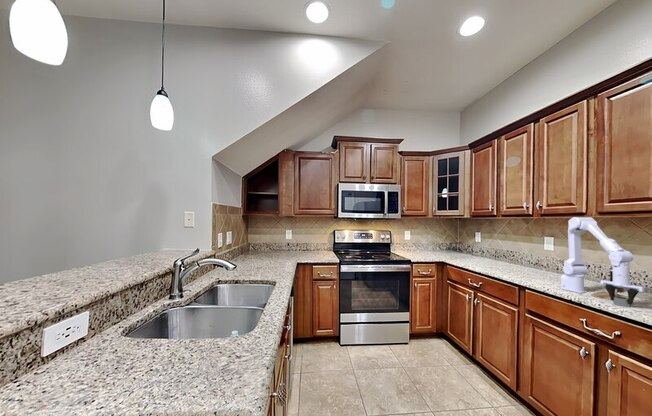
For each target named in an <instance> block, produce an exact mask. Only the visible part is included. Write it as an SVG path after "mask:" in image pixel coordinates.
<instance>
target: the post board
mask: <svg viewBox="0 0 652 416" xmlns="http://www.w3.org/2000/svg"><path fill="white" fill-rule="evenodd" d="M590 296H591V297H596V298H598V297H599V298H598V299H604V300H608V301H612V300H611V298H610V295H609V293H608V291H606V290H605V291H604V290H603V291H599V292H594V293H591V294H590ZM615 296H620V297H626V298H628V295H624V294H619V293H618V292H617V289H615Z"/></svg>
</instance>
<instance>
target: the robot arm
mask: <svg viewBox="0 0 652 416" xmlns="http://www.w3.org/2000/svg"><path fill="white" fill-rule="evenodd" d="M567 222H568V223H567V224H568V228H567V241H568V242H567V243H568V244H567V245H568V258H567V259H566V260H565V261H564V262H563V267H562V270H563V271H562V272H564V274H562V275H561V277H560V283H561V284H560V286H561V287H560V289H561V290H565V291H569V292H573V293H579V294H583V293H588V290H585V277H586V275H588V272H589V271H588V268H587V263H586V262H585V261H584V260H583V259H582V257H583V256H582V237H581V235H582V233H583V232H584V231H588V232H589V233H590V234H592V235H593V236H594V237H595V238H596V240H598V241H599V245H600V247H601V248H602V249H603V250H604V251H605V252H606V253H607V255H608V256H607V257H608V259H609V261H610V264H611V265H612V267H611V270H612V272H613V282H612V281H610V280H604V279H603V280H600V285H605V286H604V288H605V291H606V292H608V293H609V295H610V298H611V300H610V301H612V302H613V296H615V288H616V287H620V288H624V289H627V290H626V292H627V296H628V304H630V306H631V305H633V303H634V301H635V298H636V296H637V295H638V294H639V292H640V293H642V292H643V293H644V292H645V287H644V286H638V285H634V284H631V275H630V274H631V273H630V272H631V271H630V269H631V268H630V267H631V265H630V264H631V263H632V262H633V260H634V256H633V254H632V252H630V251H628V250H625V249H624V248H623V247H621V246H620V245H619V244H618V243H617V241H616V240H615V239H613V238H609V237H608V236H607V235H606V234H605V233H604V231H602V229H601V228H600V227H599V226H598V222H597V221H596V220H595V219H594V217H589V216H588V217H577V216H574V217H571V218H570V219H569V220H568V221H567Z"/></svg>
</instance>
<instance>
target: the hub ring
mask: <svg viewBox="0 0 652 416" xmlns="http://www.w3.org/2000/svg"><path fill="white" fill-rule="evenodd" d="M612 302H613V305H615V306H618V307H619V306H620V307H623V308H625V307H626V308H630V307H631V305H630V304H628V298H626V297H620V296H613V301H612Z"/></svg>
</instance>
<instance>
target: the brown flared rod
mask: <svg viewBox="0 0 652 416" xmlns="http://www.w3.org/2000/svg"><path fill="white" fill-rule="evenodd" d="M609 277H610V279H609V281H612V282H613V272H612V271H609ZM615 289H617V293H624V292H625V288H620V287H616V288H615Z"/></svg>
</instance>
